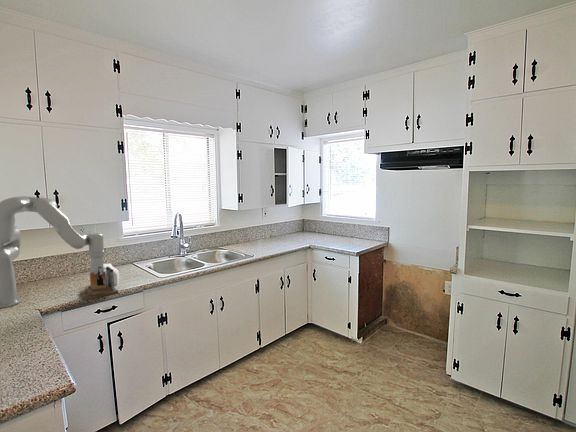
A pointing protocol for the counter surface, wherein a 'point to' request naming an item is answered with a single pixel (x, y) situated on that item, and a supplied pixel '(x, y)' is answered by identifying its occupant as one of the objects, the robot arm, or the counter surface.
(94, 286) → the small box
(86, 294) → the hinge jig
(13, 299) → the robot arm
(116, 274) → the corner bracket
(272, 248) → the counter surface
